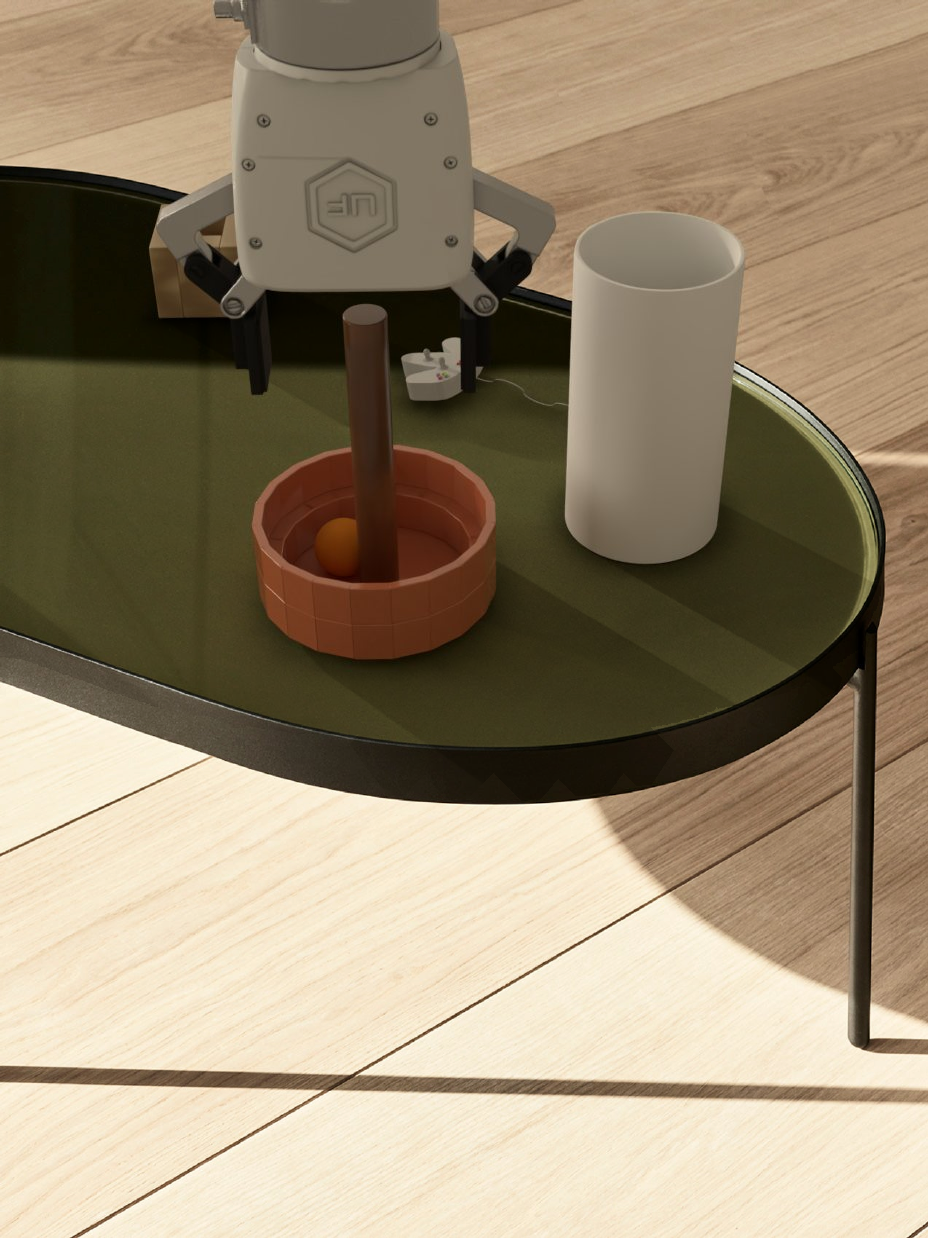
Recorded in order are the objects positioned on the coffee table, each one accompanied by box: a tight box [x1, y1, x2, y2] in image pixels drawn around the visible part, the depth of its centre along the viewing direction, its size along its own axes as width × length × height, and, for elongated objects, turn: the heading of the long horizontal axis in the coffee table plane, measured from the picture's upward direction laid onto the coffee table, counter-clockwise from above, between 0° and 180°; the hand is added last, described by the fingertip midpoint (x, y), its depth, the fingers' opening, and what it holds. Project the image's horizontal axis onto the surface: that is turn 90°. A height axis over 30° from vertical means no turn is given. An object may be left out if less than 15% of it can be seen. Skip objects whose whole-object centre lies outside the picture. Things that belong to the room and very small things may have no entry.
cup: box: [564, 210, 746, 565], centre depth 86 cm, size 8×8×16 cm
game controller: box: [400, 337, 569, 407], centre depth 100 cm, size 6×12×3 cm, turn 81°
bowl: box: [251, 444, 497, 660], centre depth 85 cm, size 12×12×5 cm
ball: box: [314, 518, 359, 576], centre depth 86 cm, size 3×3×3 cm
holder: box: [148, 203, 238, 319], centre depth 108 cm, size 6×6×5 cm
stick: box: [342, 303, 399, 583], centre depth 80 cm, size 2×2×16 cm
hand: (365, 378), depth 78 cm, fingers open, 9 cm apart
